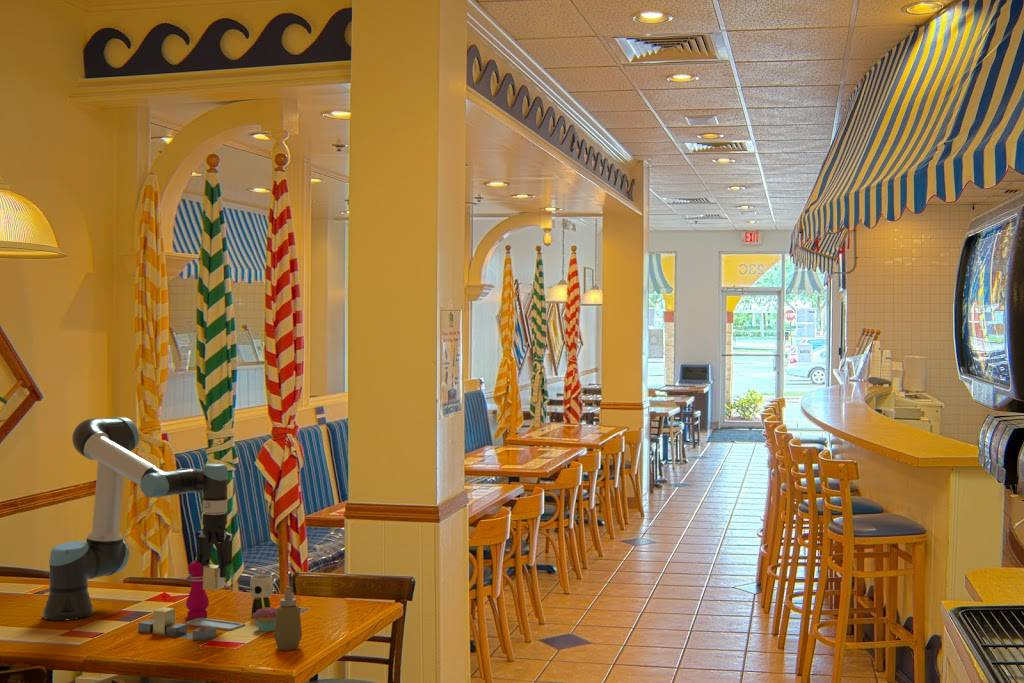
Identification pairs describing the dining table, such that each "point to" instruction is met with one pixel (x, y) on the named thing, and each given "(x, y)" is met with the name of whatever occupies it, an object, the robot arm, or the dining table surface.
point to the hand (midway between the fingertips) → (213, 586)
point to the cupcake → (265, 617)
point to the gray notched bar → (180, 631)
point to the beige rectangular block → (210, 578)
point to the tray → (215, 624)
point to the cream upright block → (163, 620)
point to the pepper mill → (196, 593)
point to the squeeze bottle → (288, 623)
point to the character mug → (261, 591)
